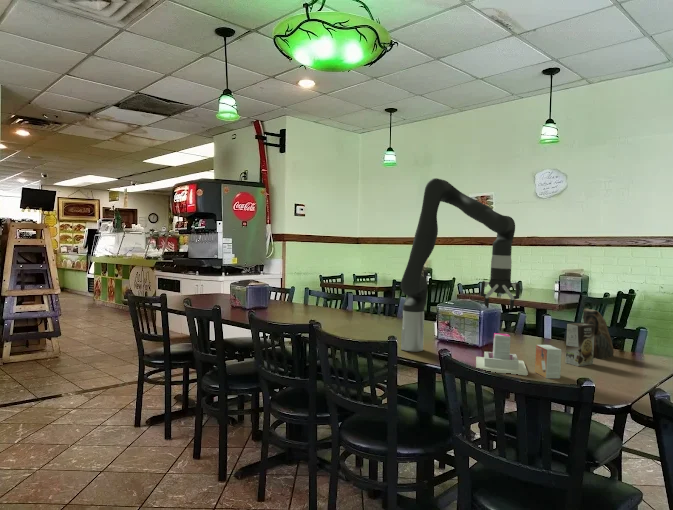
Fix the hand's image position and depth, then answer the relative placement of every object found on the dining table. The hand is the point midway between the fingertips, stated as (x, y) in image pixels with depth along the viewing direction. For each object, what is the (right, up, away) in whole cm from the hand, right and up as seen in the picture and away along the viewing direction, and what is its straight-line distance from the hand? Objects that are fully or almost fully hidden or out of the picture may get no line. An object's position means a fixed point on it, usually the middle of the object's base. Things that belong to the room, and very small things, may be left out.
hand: (499, 308), depth 188 cm
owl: (+51, -23, +22) cm, 60 cm away
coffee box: (+35, -23, +7) cm, 42 cm away
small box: (+14, -23, -12) cm, 29 cm away
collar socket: (0, -22, -2) cm, 22 cm away
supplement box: (0, -21, -2) cm, 21 cm away
